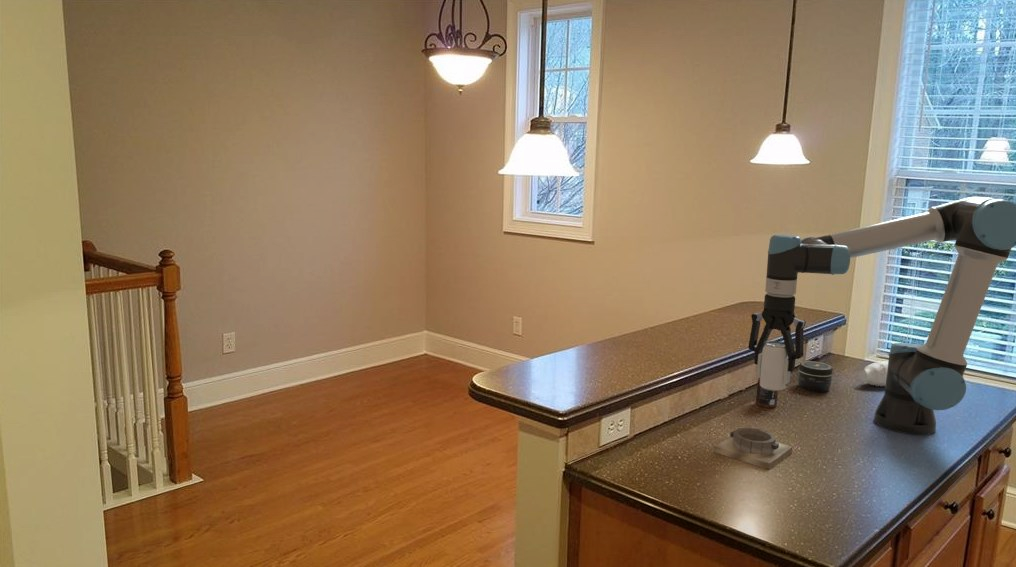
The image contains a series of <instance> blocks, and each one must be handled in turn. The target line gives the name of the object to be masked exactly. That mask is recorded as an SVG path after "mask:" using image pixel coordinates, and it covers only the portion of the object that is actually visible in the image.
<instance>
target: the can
mask: <svg viewBox="0 0 1016 567" xmlns="http://www.w3.org/2000/svg"><path fill="white" fill-rule="evenodd" d="M787 358H788V355H787V351H786V347H785V343H784V342H783V341H775V340H770V341H768V340H767V342H765V345H764V347H763V351H762V362H761V374H760V386H761V387H762V388H763V389H766V390H770V391H778V392H781V391H784V390H785V389H786V385H787V384H783V378H784V366H785V359H787Z"/></svg>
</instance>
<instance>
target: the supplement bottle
mask: <svg viewBox="0 0 1016 567" xmlns="http://www.w3.org/2000/svg"><path fill="white" fill-rule="evenodd" d="M778 396H779V391H770V390H766V389H763V388H762V387H761V386H760V378H757V386H756V395H755V404H756V405H758V406H759V407H761V408H765V409H773V408H776V407H777V406H778V398H779V397H778Z"/></svg>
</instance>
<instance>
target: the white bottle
mask: <svg viewBox="0 0 1016 567" xmlns="http://www.w3.org/2000/svg"><path fill="white" fill-rule="evenodd" d="M888 361H889V360H884V361H883V360H882V361H875V362H873V363H870V364H868V365H866V366H865V367H864V368H863V369H861V370H859V371H858V373H857V377H858V380H860V381H862V383H863V384H864V385H867V384H868V385H871V386H874V385H875V387H879V386H880V387H885V385H886V377H887V369H888Z"/></svg>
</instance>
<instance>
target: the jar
mask: <svg viewBox="0 0 1016 567" xmlns="http://www.w3.org/2000/svg"><path fill="white" fill-rule="evenodd" d="M833 371H834V370H833V366H832V365H830V364H827V363H825V362H820V361H814V360H813V361H812V360H806V361H805V360H804V361H801V362H799V365H798V374H797V384H798V386H799V388H800V389H802V390H805V391H808V392H813V393H826V392H828V391H829V390H830V388H831V386H832V378H833Z"/></svg>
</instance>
